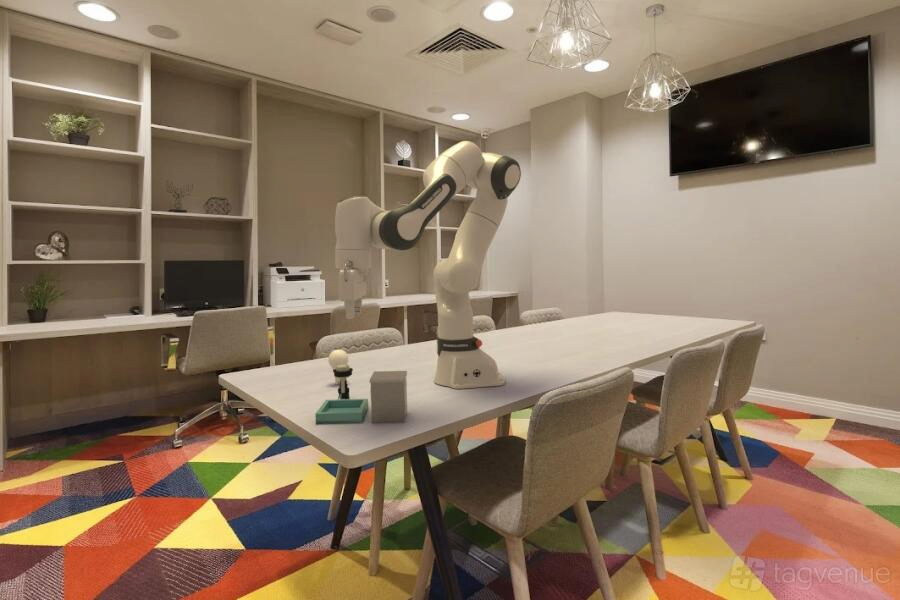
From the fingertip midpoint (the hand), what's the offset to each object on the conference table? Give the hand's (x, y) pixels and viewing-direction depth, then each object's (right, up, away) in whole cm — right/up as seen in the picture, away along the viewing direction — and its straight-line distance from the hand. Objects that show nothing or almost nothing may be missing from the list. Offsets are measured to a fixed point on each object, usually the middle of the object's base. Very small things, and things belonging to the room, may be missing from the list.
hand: (353, 316), depth 118 cm
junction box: (+9, -25, -2) cm, 27 cm away
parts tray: (-3, -25, 0) cm, 25 cm away
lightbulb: (-11, -23, +30) cm, 39 cm away
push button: (-5, -24, +11) cm, 27 cm away
